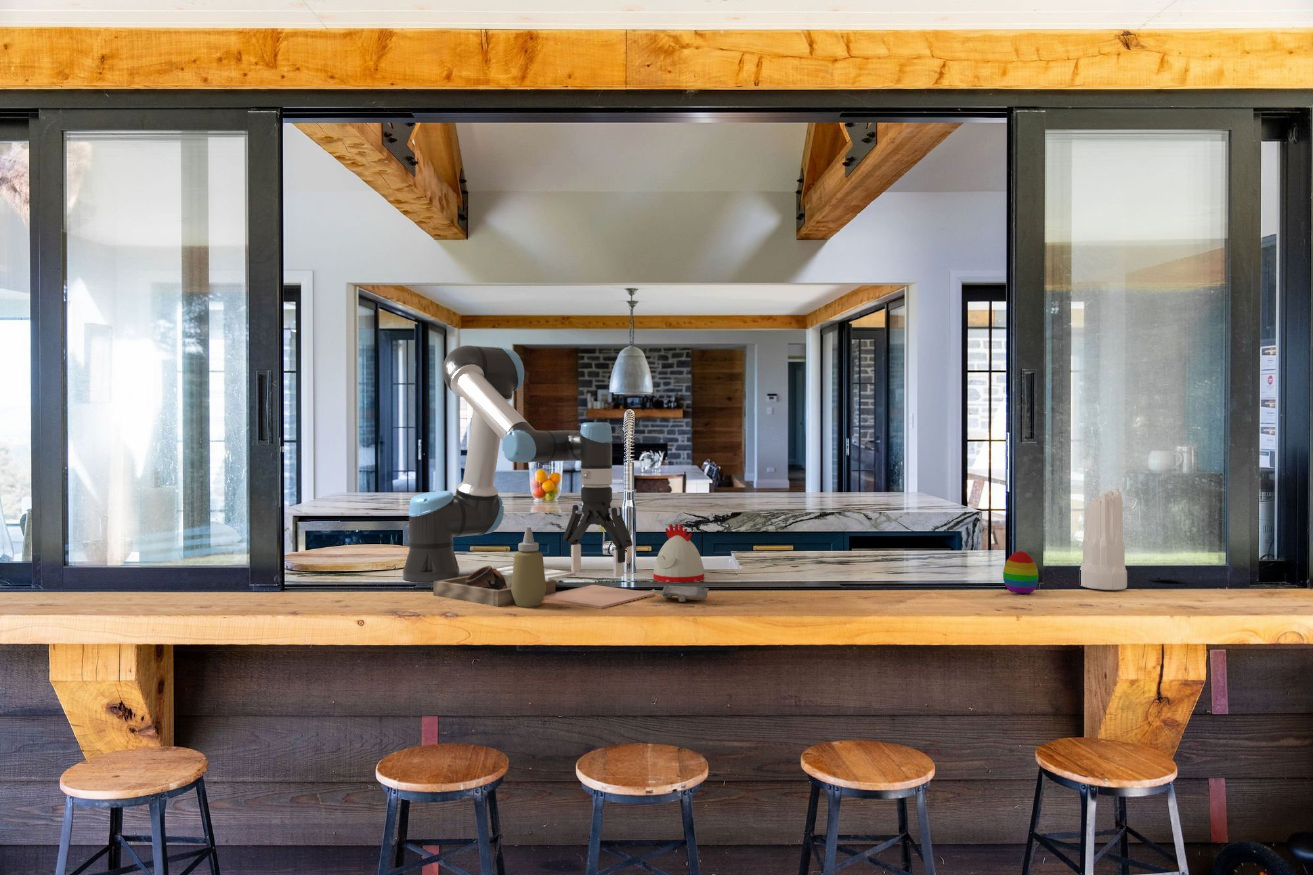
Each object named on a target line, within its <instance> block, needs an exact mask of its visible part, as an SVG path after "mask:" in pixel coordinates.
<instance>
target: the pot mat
mask: <svg viewBox="0 0 1313 875" xmlns="http://www.w3.org/2000/svg"><path fill="white" fill-rule="evenodd" d="M653 595H655V596H656V593H653V592H647V591H642V590H641V591H640V590H634V589H627V588H619V587H612V586H611V587H610V586H605V585H604V586H603V585H597V584H590V585H586V586H581V587H576V588H571V589H568V590H563V591H557V592H555V593H552V594H547V595H544V597H543V599H544V600H543V601H549V602H556V603H561V604H562V603H563V604H567V605H568V604H569V605H575V606H579V607H580V606H581V607H586V608H587V607H588V608H595V609H601V610H602V609H606V608H610V607H609V606H611V607H614V605H615V606H617V605H616V604H619V605H622V604H621V603H623V604H626V603H625V602H627V603H629V602H628V601H631V602H634V601H633V600H635V599H639V600H642V599H641V598H643V599H645V598H644V597H647V598H651V597H654V596H653ZM635 601H636V600H635Z"/></svg>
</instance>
